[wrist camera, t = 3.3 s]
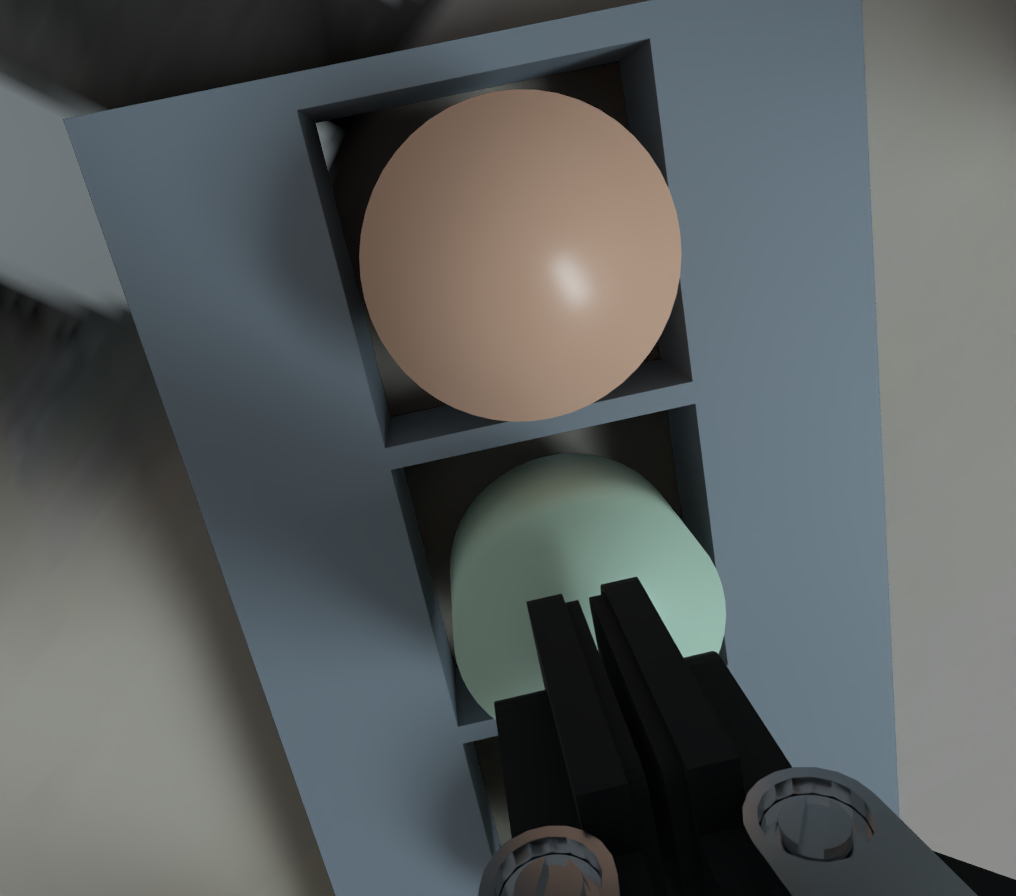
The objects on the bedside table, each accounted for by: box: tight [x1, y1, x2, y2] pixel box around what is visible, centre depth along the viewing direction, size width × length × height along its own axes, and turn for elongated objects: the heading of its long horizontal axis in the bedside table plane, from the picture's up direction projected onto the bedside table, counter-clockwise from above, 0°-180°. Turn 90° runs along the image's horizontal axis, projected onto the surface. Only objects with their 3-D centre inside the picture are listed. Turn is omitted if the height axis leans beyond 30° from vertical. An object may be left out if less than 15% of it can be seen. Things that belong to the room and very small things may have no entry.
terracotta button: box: [359, 89, 682, 422], centre depth 12 cm, size 4×4×2 cm
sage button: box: [450, 453, 726, 720], centre depth 14 cm, size 4×4×2 cm
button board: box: [63, 0, 899, 896], centre depth 15 cm, size 12×18×2 cm, turn 11°
